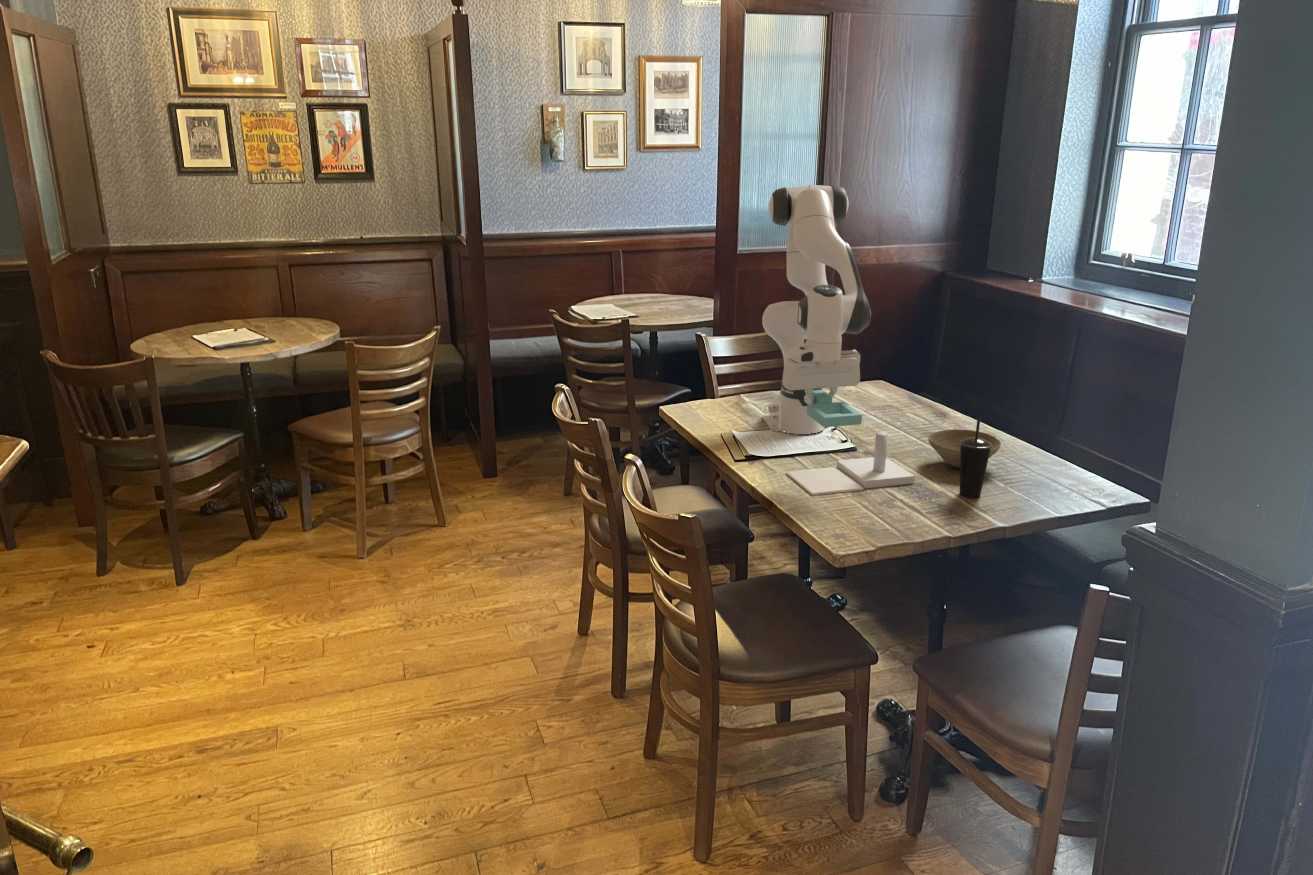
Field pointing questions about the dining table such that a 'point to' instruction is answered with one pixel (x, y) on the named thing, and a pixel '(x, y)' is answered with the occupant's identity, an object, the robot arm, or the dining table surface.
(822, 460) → the dining table surface
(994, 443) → the bowl
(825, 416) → the teal square ring handle
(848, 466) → the post stand
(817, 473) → the mat
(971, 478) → the drinking cup
